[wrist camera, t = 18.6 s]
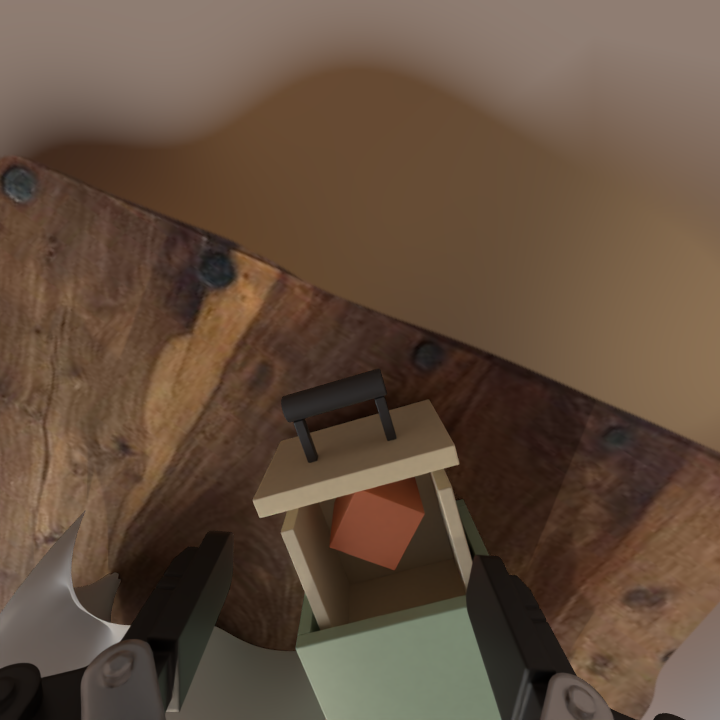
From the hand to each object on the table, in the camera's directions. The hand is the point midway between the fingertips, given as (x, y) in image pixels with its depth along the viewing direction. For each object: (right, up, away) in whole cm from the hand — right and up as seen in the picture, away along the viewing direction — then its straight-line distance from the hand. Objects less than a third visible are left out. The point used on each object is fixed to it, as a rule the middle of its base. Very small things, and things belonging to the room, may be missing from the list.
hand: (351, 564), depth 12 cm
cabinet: (+5, -13, +19) cm, 24 cm away
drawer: (+1, -2, +16) cm, 16 cm away
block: (+1, -3, +15) cm, 15 cm away
